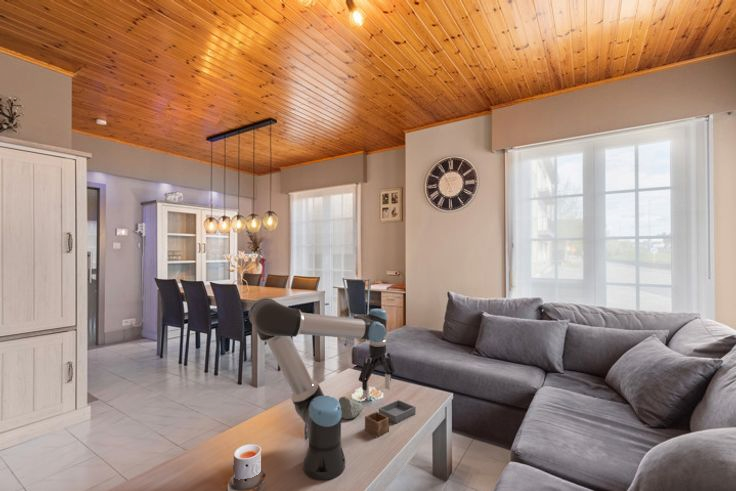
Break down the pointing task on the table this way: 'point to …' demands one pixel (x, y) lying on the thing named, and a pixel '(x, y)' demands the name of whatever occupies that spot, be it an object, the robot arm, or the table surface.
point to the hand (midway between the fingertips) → (377, 392)
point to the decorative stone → (349, 408)
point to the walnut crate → (376, 424)
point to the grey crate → (397, 411)
